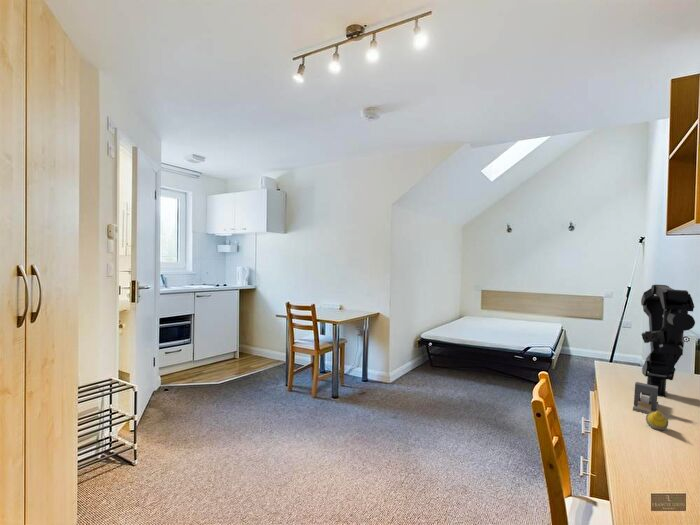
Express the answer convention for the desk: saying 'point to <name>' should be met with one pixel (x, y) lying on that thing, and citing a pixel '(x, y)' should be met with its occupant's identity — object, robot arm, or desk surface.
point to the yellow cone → (657, 420)
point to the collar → (646, 390)
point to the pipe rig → (644, 404)
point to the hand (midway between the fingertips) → (669, 369)
